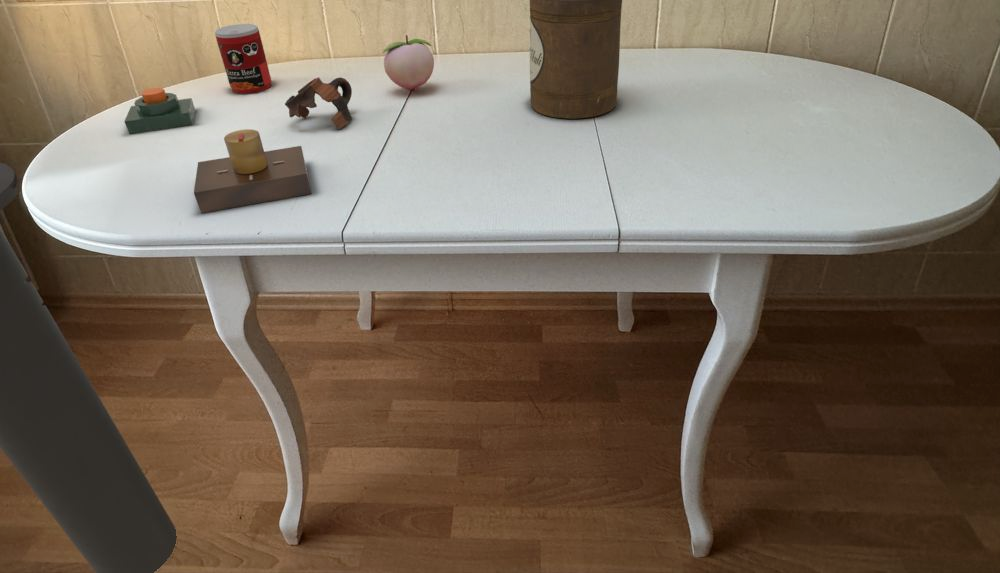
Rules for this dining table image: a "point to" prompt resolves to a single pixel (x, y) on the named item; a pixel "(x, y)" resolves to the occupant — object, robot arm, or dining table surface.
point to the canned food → (243, 58)
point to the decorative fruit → (409, 63)
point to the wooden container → (574, 56)
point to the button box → (160, 114)
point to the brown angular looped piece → (326, 93)
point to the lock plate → (251, 181)
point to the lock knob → (246, 151)
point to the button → (154, 95)
